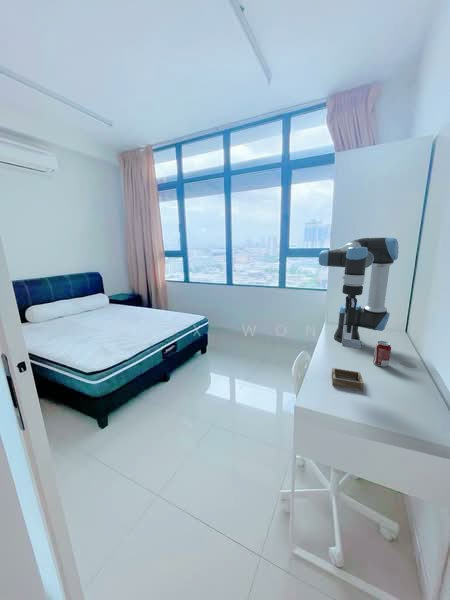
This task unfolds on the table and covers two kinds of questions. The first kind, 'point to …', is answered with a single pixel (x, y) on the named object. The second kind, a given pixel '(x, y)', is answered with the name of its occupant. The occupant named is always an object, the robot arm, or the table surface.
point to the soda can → (382, 353)
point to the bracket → (349, 343)
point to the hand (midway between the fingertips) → (346, 336)
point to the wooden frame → (347, 379)
